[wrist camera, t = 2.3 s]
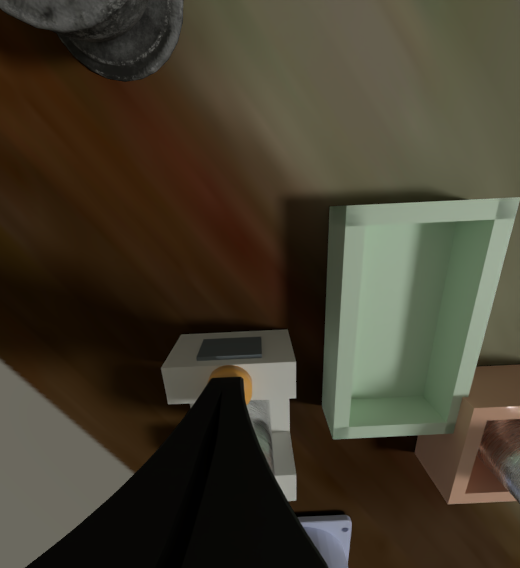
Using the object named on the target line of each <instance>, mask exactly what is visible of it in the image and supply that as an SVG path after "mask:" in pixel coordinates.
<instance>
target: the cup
mask: <svg viewBox="0 0 520 568" xmlns="http://www.w3.org/2000/svg"><path fill="white" fill-rule="evenodd" d="M507 419H520V365H499V366H478V367H476V369H475V373H474V377H473V381H472V385H471V389H470V392H469V396H468V397H462V401H461V405H460V409H459V413H458V417H457V421H456V425H455V429H454V433H453V434H433V435H418V438H417V443H416V448H415V454H416V456H417V457H418V459H419V461H420V462H421V464H422V465H423V467H424V468H425V470H426V471H427V473H428V474H429V476H430V477H431V479H432V481H433V482H434V484H435V485H436V487H437V488H438V490H439V491H440V493H441V494H442V496H443V497H444V499H445V501H446V502H447V504H463V503H484V502H505V501H517V500H516V499H515V498H514V497H513V496H512V495H511V493H510V492H509V491H508V490H507V489H506V488H505V487H504V486H503V484H502V483H501V482H500V481H499V480H498V479H497V478H496V477H495V476H494V474H493V473H492V472H491V471H490V470H489V469H488V468H487V467H486V465H485V464H484V463H483V462H482V461H481V460H480V459H479V458H478V457H477V452H478V449H479V445H480V442H481V439H482V435H483V432H484V429H485V425H486V422H487V420H507Z"/></svg>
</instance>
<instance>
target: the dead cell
mask: <svg viewBox="0 0 520 568" xmlns="http://www.w3.org/2000/svg"><path fill="white" fill-rule="evenodd" d="M477 457H478V458H479V459H480V460H481V461H482V462H483V463H484V464H485V465H486V467H487V468H488V469H489V470H490V471H491V472H492V473H493V474H494V476H495V477H496V478H497V479H498V480H499V481H500V482H501V483H502V484H503V486H504V487H505V488H506V489H507V490H508V491H509V492H510V493H511V495H512V496H513V497H514V498H515V499H516V500H517V501H518V502H519V504H520V419H507V420H487V422H486V425H485V429H484V432H483V435H482V439H481V442H480V445H479V449H478V452H477Z"/></svg>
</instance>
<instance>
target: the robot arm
mask: <svg viewBox="0 0 520 568" xmlns="http://www.w3.org/2000/svg"><path fill="white" fill-rule="evenodd" d="M351 527H352V523H351V519H350V517H349V516H348V515H327V516H306V517H297V516H296V514H295V513H294V511H293V509H292V508H291V506H290V504H289V502H288V501H287V499H286V497H285V495H284V493H283V491H282V489H281V488H280V486H279V484H278V482H277V480H276V478H275V477H274V475H273V472H272V470H271V468H270V466H269V464H268V462H267V460H266V458H265V455H264V453H263V451H262V449H261V446H260V444H259V441H258V439H257V436H256V434H255V431H254V428H253V425H252V422H251V419H250V416H249V413H248V409H247V405H246V401H245V392H244V379H243V378H242V377H221V378H211V379H210V380H209V382H208V384H207V385H206V387H205V388H204V390H203V391H202V393H201V394H200V396H199V397H198V399H197V400H196V402H195V403H194V404H193V406H192V407H191V409H190V410H189V411H188V413H187V414H186V415H185V417H184V418H183V419H182V421H181V422H180V423H179V424H178V426H177V427H176V428H175V429H174V431H173V432H172V433H171V434H170V436H169V437H168V438H167V439H166V440H165V442H164V443H163V444H162V445H161V446H160V447H159V449H158V450H157V451H156V452H155V453H154V454H153V455H152V456H151V457H150V458H149V459H148V461H147V462H146V463H145V464H144V465H143V466H142V467H141V468H140V469H139V470H138V471H137V472H136V473H135V474H134V475H133V476H132V477H131V478H130V479H129V480H128V481H127V482H126V483H125V484H124V485H123V486H122V487H121V488H120V489H119V490H118V491H116V493H114V494H113V495H112V496H111V497H110V498H109V499H108V500H107V501H106V502H105V503H103V504H102V505H101V506H100V507H99V508H98V509H96V510H95V511H94V512H93V513H92V514H91V515H90V516H88V517H87V518H86V519H85V520H84V521H83V522H82V523H81V524H79V525H78V526H77V527H76V528H75V529H73V530H72V531H71V532H70V533H68V534H67V535H66V536H65V537H64V538H62V539H61V540H60V541H59V542H57V543H56V544H55V545H54V546H52V547H51V548H50V549H48V550H47V551H46V552H45V553H43V554H42V555H41V556H40V557H38V558H37V559H36V560H34V561H33V562H32V563H30V564H29V565H28V566H27V567H25V568H348V556H349V547H350V537H351Z"/></svg>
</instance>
